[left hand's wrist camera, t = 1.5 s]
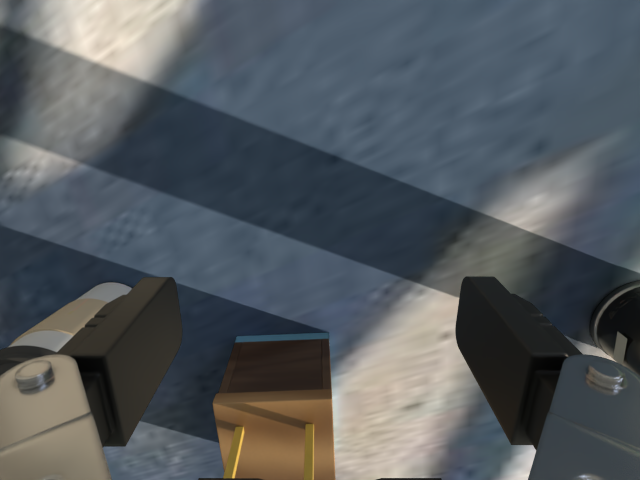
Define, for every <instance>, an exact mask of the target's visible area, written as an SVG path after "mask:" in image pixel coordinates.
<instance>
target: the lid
mask: <svg viewBox="0 0 640 480" xmlns="http://www.w3.org/2000/svg"><path fill="white" fill-rule="evenodd" d="M213 410H214V415H215V421H216V427H217V433H218V438H219V444H220V450H221V456H222V461H223V467H224V477H223V478H259V479H263V480H335V458H334V434H333V409H332V390H331V389H320V390H295V391H269V392H243V393H218V394H216V395H215V398H214V401H213Z"/></svg>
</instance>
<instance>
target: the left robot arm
mask: <svg viewBox="0 0 640 480" xmlns="http://www.w3.org/2000/svg"><path fill="white" fill-rule="evenodd" d="M590 331H591V336H592V339H593V341H594V342H595V344H596V345H597V346H598V347H599V348H600V349H601V350H602V351H604V352H605V353H606V354H607V355H609V356H611V357H612V358H613V359H614V360H615V361H616V362H615V361H612V360H609V359H606V358H602V357H598V356H593V355H583V354H582V353H581V352H580V351H579V350H578V349H577V348H576V347H575V346H574V345H573V344H572V343H571V342H570V341H569V340H568V339H567V338H566V337H565V336H564V335H563V334H562V333H561V332H560V331H559V330H558V329H557V328H556V327H555V326H552V323H551V322H550V321H549V320H548V319H547V318H546V317H543V314H542V313H541V312H540V311H539V310H538V309H537V308H536V307H535V306H534V305H533V304H532V303H530V302H528V301H526V300H524V299H523V298H521V297H519V296H517V295H515V294H510V293H509V292H508V291H507V289H506V288H505V287H504V286H503V285H502V284H501V283H500V282H499V281H498V280H497V279H496V278H495V277H465V278H464V279H463V281H462V285H461V291H460V299H459V306H458V313H457V321H456V340H457V344H458V347H459V349H460V351H461V353H462V355H463V357H464V359H465V361H466V362H467V364H468V366H469V368H470V370H471V372H472V373H473V375H474V377H475V379H476V381H477V383H478V384H479V386H480V388H481V390H482V392H483V394H484V395H485V397H486V399H487V401H488V403H489V405H490V406H491V408H492V410H493V412H494V414H495V416H496V417H497V419H498V421H499V423H500V425H501V427H502V428H503V430H504V432H505V434H506V436H507V438H508V439H509V441H510V443H511V445H533V446H534V447H535V449H536V454H535V458H534V461H533V465H532V468H531V471H530V475H529V478H528V480H640V281H635V282H631V283H628V284H626V285H623V286H621V287H619V288H617V289H616V290H614V291H613V292H611V293H610V294H609V295H607V296H606V297H605V298H604V299H603V300H602V301H601V303H600V304H599V305H598V307H597V308H596V310H595V312H594V314H593V316H592V319H591V325H590ZM181 340H182V322H181V315H180V308H179V300H178V293H177V286H176V282H175V280H174V279H173V278H172V277H144V278H142V279H141V280H140V281H139V282H138V283H137V284H136V285H135V286H134V287H133V288H132V289H131V291H130V292H129V293H128V294H127V295H122V296H120V297H118V298H116V299H114V300H112V301H111V302H109V303H107V304H105V305H104V306H103V307H102V308H101V309H100V310H99V311H98V312H97V313H96V314H95V315H94V318H91V319H90V320H89V321H88V322H87V323H86V324H85V327H82V328H81V329H80V330H79V331H78V332H77V333H76V334H75V335H74V336H73V337H72V338H71V339H70V340H69V341H68V342H67V343H66V344H65V345H64V346H63V347H62V348H61V349H60V350H59V351H58V352H57V353H56V354H55V355H47V356H42V357H38V358H34V359H31V360H28V361H25V362H23V363H21V364H19V365H17V366H15V367H13V368H11V369H9V370H8V371H6V372H5V373H4V374H2V375H1V376H0V480H112V478H111V475H110V471H109V468H108V465H107V461H106V458H105V454H104V451H103V447H104V446H126V444H127V443H128V441H129V439H130V437H131V435H132V433H133V432H134V430H135V428H136V426H137V424H138V423H139V421H140V419H141V417H142V415H143V414H144V412H145V410H146V408H147V406H148V404H149V403H150V401H151V399H152V397H153V395H154V394H155V392H156V390H157V388H158V386H159V384H160V383H161V381H162V379H163V377H164V375H165V374H166V372H167V370H168V368H169V366H170V365H171V363H172V361H173V359H174V357H175V355H176V354H177V352H178V350H179V348H180V345H181ZM198 480H263V479H259V478H199V479H198ZM377 480H442V479H441V478H381V479H377Z"/></svg>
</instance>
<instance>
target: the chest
mask: <svg viewBox="0 0 640 480" xmlns="http://www.w3.org/2000/svg"><path fill="white" fill-rule="evenodd" d="M320 389H331V390H332V387H331V367H330V345H329V333H304V334H280V335H255V336H237V337H236V340H235V344H234V347H233V350H232V353H231V356H230V359H229V362H228V365H227V368H226V371H225V374H224V377H223V380H222V383H221V386H220V389H219V392H218V393H243V392H269V391H295V390H320Z"/></svg>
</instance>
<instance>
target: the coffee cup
mask: <svg viewBox="0 0 640 480" xmlns="http://www.w3.org/2000/svg"><path fill="white" fill-rule="evenodd" d="M131 289H132V288H130V287H128V286H126V285H124V284H120V283H113V282H109V283H103V284H100V285H97V286H95V287H94V288H92V289H91V290H89V291H88V292H87V293H85V294H84V295H82V296H81V297H79V298H78V299H77V300H75V301H73V302H70V303H69V304H67V305H65V306H64V307H62V308H61V309H59V310H58V311H56V312H55V313H53V314H52V315H51V316H49V317H48V318H46V319H45V320H43V321H42V322H40V323H39V324H37V325H36V326H34V327H33V328H31V329H30V330H28V331H27V332H25V333H24V334H22V335H21V336H19V337H18V338H17V339H15V340H14V341H13V342H12V344H11V345H10V346H9V347H7V348H4V349H1V350H0V376H1V375H2V374H4V373H5V372H6V371H8V370H9V369H11V368H13V367H15V366H17V365H19V364H21V363H23V362H25V361H28V360H31V359H34V358H38V357H42V356H47V355H55V354H56V353H57V352H58V351H59V350H60V349H61V348H62V347H63V346H64V345H65V344H66V343H67V342H68V341H69V340H70V339H71V338H72V337H73V336H74V335H75V334H76V333H77V332H78V331H79V330H80V329H81V328H82V327H85V324H86V323H87V322H88V321H89V320H90V319H91V318H94V315H95V314H96V313H97V312H98V311H99V310H100V309H101V308H102V307H103V306H104V305H105V304H107V303H109V302H111V301H112V300H114V299H116V298H118V297H120V296H122V295H127V294H128V293H129V292H130V291H131Z"/></svg>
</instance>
